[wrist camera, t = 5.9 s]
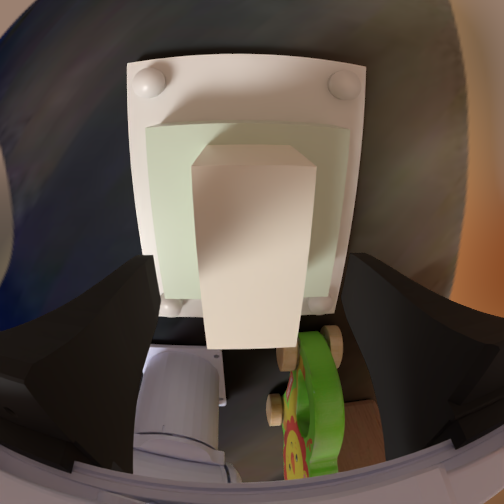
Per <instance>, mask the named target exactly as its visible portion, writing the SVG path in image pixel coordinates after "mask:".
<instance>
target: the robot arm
mask: <svg viewBox="0 0 504 504" xmlns="http://www.w3.org/2000/svg"><path fill="white" fill-rule="evenodd" d="M341 300H342V304H343V307H344V311H345V314H346V318H347V320H348V323H349V325H350V327H351V330H352V332H353V334H354V337H355V339H356V341H357V343H358V346H359V348H360V350H361V353H362V355H363V357H364V360H365V362H366V364H367V367H368V370H369V373H370V376H371V380H372V383H373V387H374V391H375V395H376V399H377V404H378V408H379V413H380V419H381V425H382V431H383V438H384V448H385V459H386V462H382V463H379V464H375V465H371V466H367V467H363V468H358V469H354V470H349V471H344V472H339V473H334V474H328V475H322V476H316V477H309V478H301V479H293V480H282V481H270V482H250V483H242V481H241V478H240V475H239V473H238V472H237V471H236V469H235V468H234V466H233V465H232V464H230V463H225V452H223V451H218V418H219V406H225V405H226V392H225V381H224V369H223V356H222V349H207V346H184V345H159V344H151V342H152V338H153V335H154V332H155V329H156V326H157V322H158V316H159V311H160V305H161V297H160V292H159V286H158V281H157V275H156V269H155V263H154V257H153V255H137V256H135V257H133V258H132V259H130V260H129V261H128V262H126V263H125V264H123V265H122V266H121V267H119V268H118V269H117V270H115V271H114V272H113V273H111V274H110V275H108V276H107V277H106V278H104V279H103V280H102V281H100V282H99V283H97V284H96V285H94V286H93V287H92V288H90V289H89V290H87V291H86V292H84V293H83V294H81V295H80V296H78V297H77V298H75V299H73V300H72V301H70V302H68V303H66V304H65V305H63V306H61V307H59V308H57V309H56V310H53V311H51V312H49V313H47V314H45V315H43V316H41V317H39V318H37V319H35V320H32V321H30V322H27V323H25V324H22V325H19V326H17V327H14V328H11V329H8V330H5V331H1V332H0V504H483V503H485V502H486V501H488V500H489V499H490V498H491V497H493V496H495V495H496V494H497V493H498V492H500V491H501V490H502V489H504V318H501V317H498V316H494V315H490V314H487V313H483V312H480V311H477V310H474V309H471V308H469V307H466V306H463V305H461V304H458V303H456V302H453V301H451V300H449V299H447V298H445V297H443V296H440V295H438V294H436V293H434V292H432V291H430V290H428V289H427V288H425V287H423V286H421V285H420V284H418V283H416V282H414V281H413V280H411V279H409V278H407V277H406V276H404V275H403V274H401V273H399V272H398V271H396V270H394V269H393V268H391V267H390V266H388V265H386V264H385V263H383V262H381V261H380V260H378V259H376V258H374V257H372V256H370V255H368V254H366V253H350V256H349V261H348V266H347V271H346V276H345V281H344V286H343V290H342V295H341ZM142 372H143V374H144V376H143V380H142V384H141V388H140V392H139V385H140V379H141V375H142ZM138 392H139V396H138ZM137 398H138V400H137Z"/></svg>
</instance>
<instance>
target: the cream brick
mask: <svg viewBox="0 0 504 504" xmlns="http://www.w3.org/2000/svg"><path fill="white" fill-rule="evenodd" d="M316 171H317V166H316V165H314V164H313V163H312V162H311V161H310V160H308V159H307V158H306V157H305V156H303V155H302V154H301V153H300V152H298V151H297V150H296V149H295V148H293V147H292V146H291V145H267V144H227V145H206V146H205V148H204V149H203V150H202V152H201V153H200V155H199V156H198V157H197V159H196V160H195V162H194V163H193V164H192V166H191V174H192V193H193V209H194V223H195V236H196V249H197V260H198V271H199V281H200V291H201V301H202V310H203V318H204V327H205V335H206V343H207V349H261V348H284V347H296V344H297V337H298V331H299V324H300V317H301V310H302V303H303V296H304V288H305V281H306V273H307V264H308V256H309V247H310V238H311V228H312V218H313V207H314V196H315V184H316Z"/></svg>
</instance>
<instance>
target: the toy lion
mask: <svg viewBox="0 0 504 504" xmlns="http://www.w3.org/2000/svg"><path fill="white" fill-rule="evenodd" d="M276 356H277V363H278V367H279V370H280V371H290V378H289V382H288V386H287V390H286V392H285V394H283V395H282V396H280V394H279V393H276V394H269V395H268V398H267V404H266V413H267V419H268V423H269V425H270V426H279V425H282V428H283V435H284V447H283V460H284V479H285V480H293V479H301V478H309V477H316V476H322V475H328V474H334V473H338V465H337V458H338V455H339V452H340V449H341V445H342V441H343V436H344V427H345V412H344V400H343V393H342V387H341V383H340V379H339V375H338V372H337V368H338V367H339V366H340V364H341V360H342V356H343V339H342V334H341V331H340V329H339V327H338V326H336V325H328V326H323V327H322V328H321V330H320V332H318V331H310V332H298V337H297V344H296V347H284V348H276Z"/></svg>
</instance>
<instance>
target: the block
mask: <svg viewBox="0 0 504 504" xmlns="http://www.w3.org/2000/svg"><path fill="white" fill-rule="evenodd" d="M344 412H345V427H344V436H343V441H342V445H341V449H340V452H339V455H338V458H337V465H338V473H339V472H344V471H349V470H354V469H358V468H363V467H367V466H371V465H375V464H379V463H382V462H386V459H385V448H384V438H383V431H382V425H381V419H380V413H379V409H378V406H377V404H376V402H375V401H374V400H363V401H356V402H349V403H344Z"/></svg>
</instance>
